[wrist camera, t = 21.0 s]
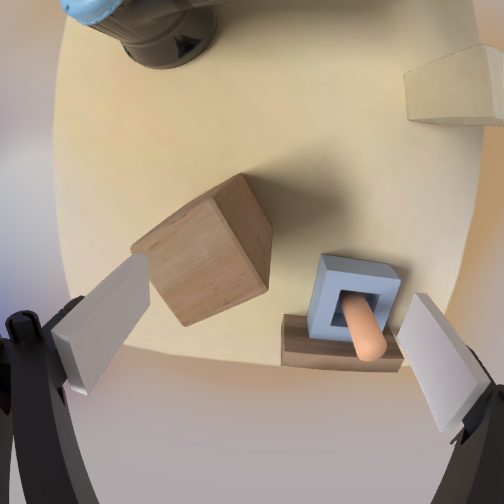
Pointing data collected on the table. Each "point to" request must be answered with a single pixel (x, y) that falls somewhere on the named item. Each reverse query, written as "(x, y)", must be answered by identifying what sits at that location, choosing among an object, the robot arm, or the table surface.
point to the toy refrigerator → (458, 89)
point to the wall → (331, 350)
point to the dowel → (362, 326)
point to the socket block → (353, 279)
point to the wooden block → (210, 252)
